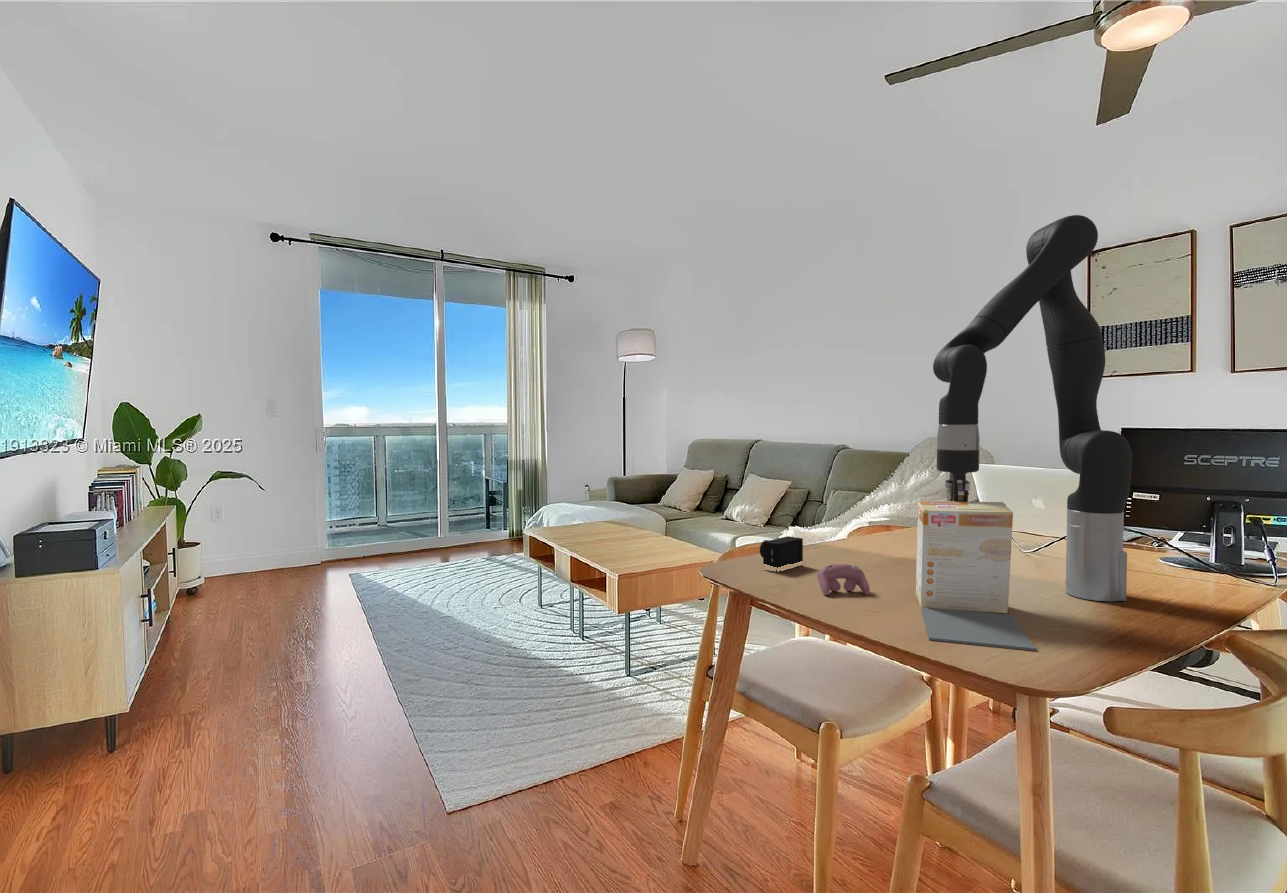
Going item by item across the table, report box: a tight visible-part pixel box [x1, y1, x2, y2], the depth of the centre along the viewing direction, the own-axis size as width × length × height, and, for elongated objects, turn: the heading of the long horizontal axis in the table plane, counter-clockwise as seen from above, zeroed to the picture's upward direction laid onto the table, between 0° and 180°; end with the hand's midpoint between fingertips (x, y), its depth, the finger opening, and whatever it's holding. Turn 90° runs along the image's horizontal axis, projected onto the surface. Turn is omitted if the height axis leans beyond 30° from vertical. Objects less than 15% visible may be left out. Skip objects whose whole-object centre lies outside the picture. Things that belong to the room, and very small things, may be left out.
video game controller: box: [817, 563, 871, 596], centre depth 129 cm, size 10×5×7 cm, turn 92°
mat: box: [920, 607, 1037, 652], centre depth 107 cm, size 15×18×1 cm
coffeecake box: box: [915, 500, 1014, 614], centre depth 117 cm, size 15×7×20 cm, turn 75°
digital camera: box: [759, 535, 804, 568], centre depth 152 cm, size 10×5×7 cm, turn 132°
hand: (956, 534), depth 124 cm, fingers closed
